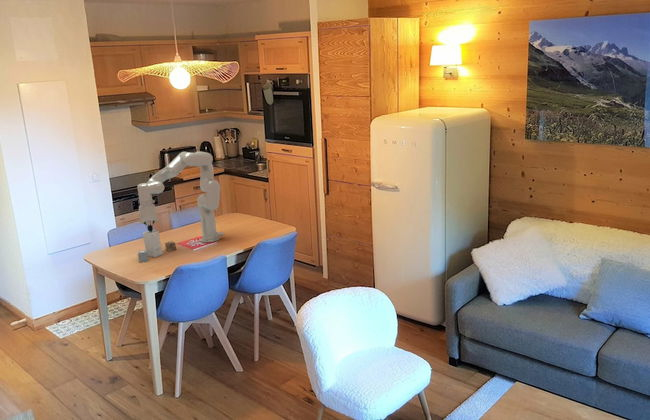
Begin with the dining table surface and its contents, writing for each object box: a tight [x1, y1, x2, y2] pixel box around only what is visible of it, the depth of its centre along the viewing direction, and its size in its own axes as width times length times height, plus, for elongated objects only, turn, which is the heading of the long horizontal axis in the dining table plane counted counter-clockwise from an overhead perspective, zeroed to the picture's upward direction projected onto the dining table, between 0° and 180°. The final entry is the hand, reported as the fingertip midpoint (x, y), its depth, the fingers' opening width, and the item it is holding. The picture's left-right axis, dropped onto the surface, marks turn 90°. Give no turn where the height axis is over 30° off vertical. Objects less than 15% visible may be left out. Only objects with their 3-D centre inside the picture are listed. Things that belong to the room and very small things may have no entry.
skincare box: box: [142, 230, 163, 258], centre depth 352 cm, size 8×7×16 cm
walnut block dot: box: [164, 240, 177, 252], centre depth 362 cm, size 5×5×5 cm
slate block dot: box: [137, 249, 149, 263], centre depth 345 cm, size 5×5×6 cm
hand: (150, 231), depth 350 cm, fingers closed
